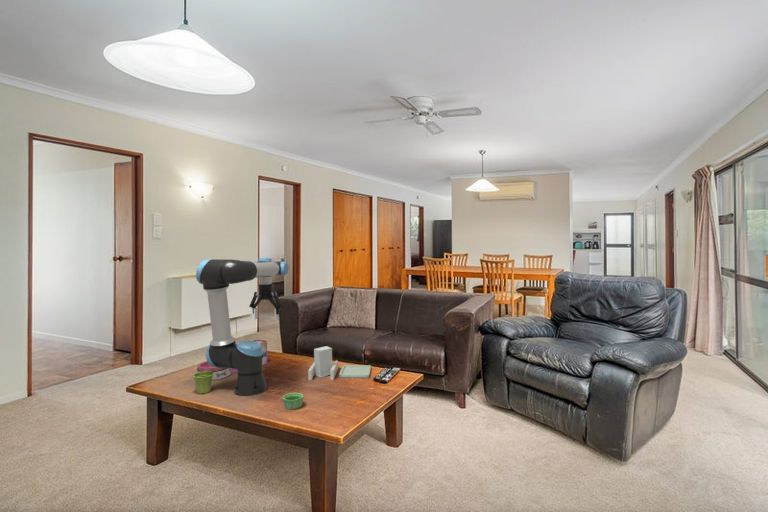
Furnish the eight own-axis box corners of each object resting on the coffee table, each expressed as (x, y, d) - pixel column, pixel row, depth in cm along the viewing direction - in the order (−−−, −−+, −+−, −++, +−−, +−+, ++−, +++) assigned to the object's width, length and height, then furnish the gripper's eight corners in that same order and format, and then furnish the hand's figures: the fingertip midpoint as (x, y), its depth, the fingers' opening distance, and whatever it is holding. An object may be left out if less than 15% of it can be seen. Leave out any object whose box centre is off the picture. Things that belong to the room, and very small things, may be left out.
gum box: (241, 375, 230) (241, 350, 229) (230, 373, 232) (229, 349, 232) (267, 362, 252) (267, 340, 252) (256, 361, 255) (256, 339, 254)
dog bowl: (232, 378, 224) (232, 365, 224) (194, 383, 217) (194, 370, 217) (231, 369, 241) (231, 357, 241) (196, 373, 235) (195, 360, 234)
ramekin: (298, 400, 192) (297, 391, 191) (306, 406, 184) (306, 396, 184) (279, 405, 186) (279, 395, 186) (287, 411, 179) (287, 401, 179)
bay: (333, 379, 220) (333, 370, 219) (308, 379, 220) (308, 370, 220) (338, 368, 239) (338, 359, 239) (315, 368, 239) (315, 359, 239)
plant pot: (218, 390, 206) (218, 372, 205) (201, 396, 198) (201, 378, 197) (206, 387, 211) (205, 370, 210) (189, 393, 202) (188, 375, 202)
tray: (369, 378, 222) (369, 375, 222) (338, 378, 222) (338, 375, 222) (370, 367, 240) (370, 365, 240) (343, 367, 240) (343, 365, 240)
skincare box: (327, 372, 233) (326, 345, 232) (333, 374, 228) (332, 347, 227) (313, 375, 227) (313, 348, 227) (319, 378, 223) (319, 350, 222)
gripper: (287, 283, 249) (288, 319, 250) (250, 282, 255) (250, 317, 256) (281, 284, 242) (282, 321, 242) (243, 284, 248) (243, 319, 248)
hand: (265, 319), depth 249 cm, fingers open, 13 cm apart
